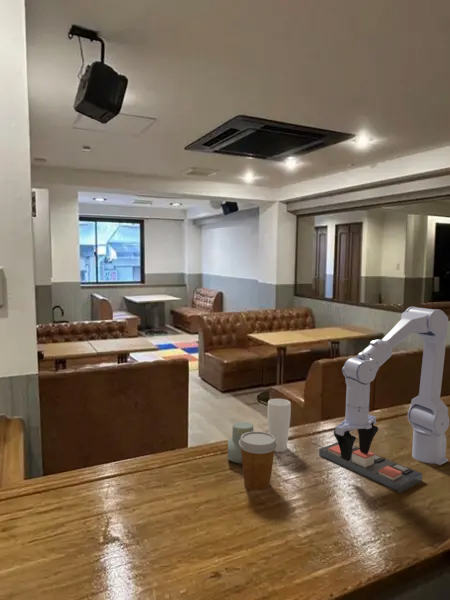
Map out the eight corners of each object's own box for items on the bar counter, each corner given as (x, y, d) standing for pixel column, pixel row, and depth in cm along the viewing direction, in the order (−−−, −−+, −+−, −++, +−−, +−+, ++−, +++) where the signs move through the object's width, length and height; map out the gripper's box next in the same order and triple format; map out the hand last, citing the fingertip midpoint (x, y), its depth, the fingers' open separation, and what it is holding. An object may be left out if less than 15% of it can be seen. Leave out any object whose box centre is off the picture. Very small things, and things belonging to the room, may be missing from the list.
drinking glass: (288, 457, 125) (290, 406, 124) (265, 455, 126) (266, 404, 125) (290, 447, 131) (291, 399, 130) (267, 445, 133) (268, 397, 132)
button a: (336, 454, 125) (337, 444, 125) (348, 459, 122) (348, 449, 122) (327, 457, 123) (328, 448, 122) (339, 463, 119) (339, 453, 119)
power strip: (322, 442, 136) (323, 431, 135) (421, 484, 110) (422, 471, 110) (300, 450, 130) (301, 439, 129) (399, 497, 104) (400, 483, 104)
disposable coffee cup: (255, 471, 116) (256, 427, 115) (283, 484, 109) (285, 438, 108) (229, 483, 109) (230, 437, 108) (258, 498, 103) (259, 449, 102)
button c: (387, 476, 112) (387, 465, 112) (401, 482, 109) (402, 471, 109) (378, 480, 110) (378, 470, 110) (392, 487, 107) (393, 476, 106)
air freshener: (258, 468, 118) (258, 432, 117) (227, 468, 118) (228, 432, 117) (255, 451, 129) (256, 418, 128) (227, 450, 129) (228, 417, 128)
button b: (361, 458, 118) (361, 448, 118) (373, 463, 115) (374, 453, 115) (351, 462, 116) (352, 451, 116) (364, 467, 113) (365, 457, 113)
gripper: (353, 414, 105) (350, 469, 106) (387, 403, 113) (384, 454, 115) (329, 406, 110) (327, 458, 111) (364, 397, 119) (362, 445, 120)
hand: (355, 455), depth 113 cm, fingers open, 7 cm apart
